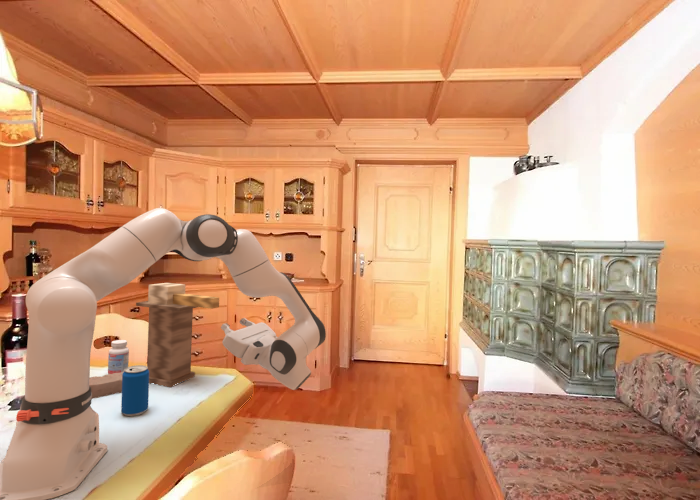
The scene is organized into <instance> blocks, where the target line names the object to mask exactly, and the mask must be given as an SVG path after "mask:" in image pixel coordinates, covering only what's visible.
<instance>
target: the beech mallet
mask: <svg viewBox="0 0 700 500" xmlns="http://www.w3.org/2000/svg"><path fill="white" fill-rule="evenodd" d="M147 298H148V299H147V301H148V303H154V304H163V305H170V304H177V305H186V306H194V307H197V308H203V309H204V308H205V309H210V310H211V309H217V308H219V307H220V297H219V296H210V295H209V296H208V295H199V294H191V293H190V294H189V293H186V284H185V283H172V282H164V283H163V282H162V283H154V284H148V295H147Z"/></svg>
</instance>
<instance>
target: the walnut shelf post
mask: <svg viewBox="0 0 700 500" xmlns="http://www.w3.org/2000/svg"><path fill="white" fill-rule="evenodd" d="M135 305H136V306H135V307H142V308H143V307H144V308H148V325H147V326H148V328H147V329H148V331H147V333H148V334H147V358H146V359H147V363H146V364H147V365H146V366H147V367H148V370H149V384H151V383H154V384H153V385H156V384H158V385H157V386H161V385H163V386H162V387H166V386H167V387H166V388H172V386H173V385H175V384H177V383H180V382H182V381H184V382H186V381H188V379H189V380H190V378H191V379H193V378H195V377H196V372H195V371H191V368H192V367H191V366H192V346H193V345H192V344H193V343H192V338H193V316H194V315H193V313H194V312H193V311H194V309H195V308H198V307H194V306H186V305H177V304H170V305H163V304H154V303H148V300H145V301H139V302H135ZM185 380H186V381H185ZM182 383H183V382H182ZM180 384H181V383H180ZM177 385H178V384H177ZM175 386H176V385H175ZM173 387H174V386H173Z"/></svg>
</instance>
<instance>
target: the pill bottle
mask: <svg viewBox="0 0 700 500" xmlns="http://www.w3.org/2000/svg"><path fill="white" fill-rule="evenodd" d="M110 345H111V348H110V349H109V350H108V359H107V361H108V362H107V364H108V365H107V375H108V374H113V373H121V372H124V369H125V368H127V367H129V356H130V348H129V347H127V345H128V341H127V340H125V339H116V340H113V341H111V344H110Z"/></svg>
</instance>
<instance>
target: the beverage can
mask: <svg viewBox="0 0 700 500" xmlns="http://www.w3.org/2000/svg"><path fill="white" fill-rule="evenodd" d="M149 391H150V383H149V370H148V367H147V365H132V366H128V367H127V368H125V369H124V373H123V374H122V392H121V406H120V407H121V410H120V412H121V413H122V414H124V415H125V416H128V417H134V416H139V415H142V414H144V413H145V412H146V411H147V410H148V408H149V396H150V393H149Z"/></svg>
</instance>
